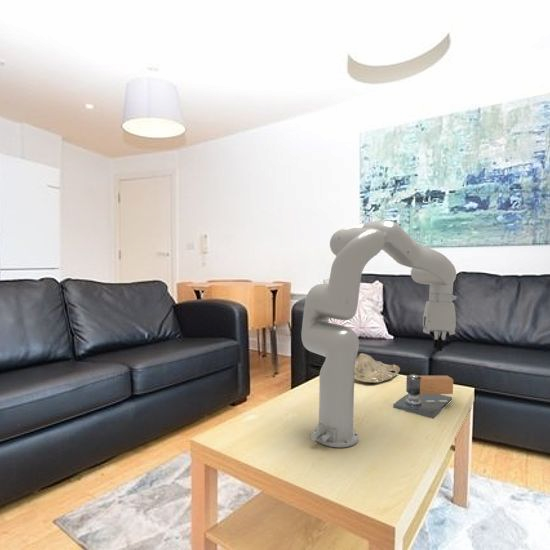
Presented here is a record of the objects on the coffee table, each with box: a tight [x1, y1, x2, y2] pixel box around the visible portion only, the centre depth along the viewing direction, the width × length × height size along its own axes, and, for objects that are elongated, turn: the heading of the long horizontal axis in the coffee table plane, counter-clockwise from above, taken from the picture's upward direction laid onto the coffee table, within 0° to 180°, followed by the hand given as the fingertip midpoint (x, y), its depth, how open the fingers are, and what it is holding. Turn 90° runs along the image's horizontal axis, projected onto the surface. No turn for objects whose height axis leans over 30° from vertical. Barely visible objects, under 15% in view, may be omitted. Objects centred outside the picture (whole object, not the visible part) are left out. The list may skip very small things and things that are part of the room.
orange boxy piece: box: [405, 374, 454, 395], centre depth 130 cm, size 15×5×6 cm, turn 92°
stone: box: [354, 352, 401, 384], centre depth 163 cm, size 30×10×15 cm
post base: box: [392, 393, 453, 419], centre depth 132 cm, size 20×13×4 cm
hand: (438, 350), depth 135 cm, fingers closed
